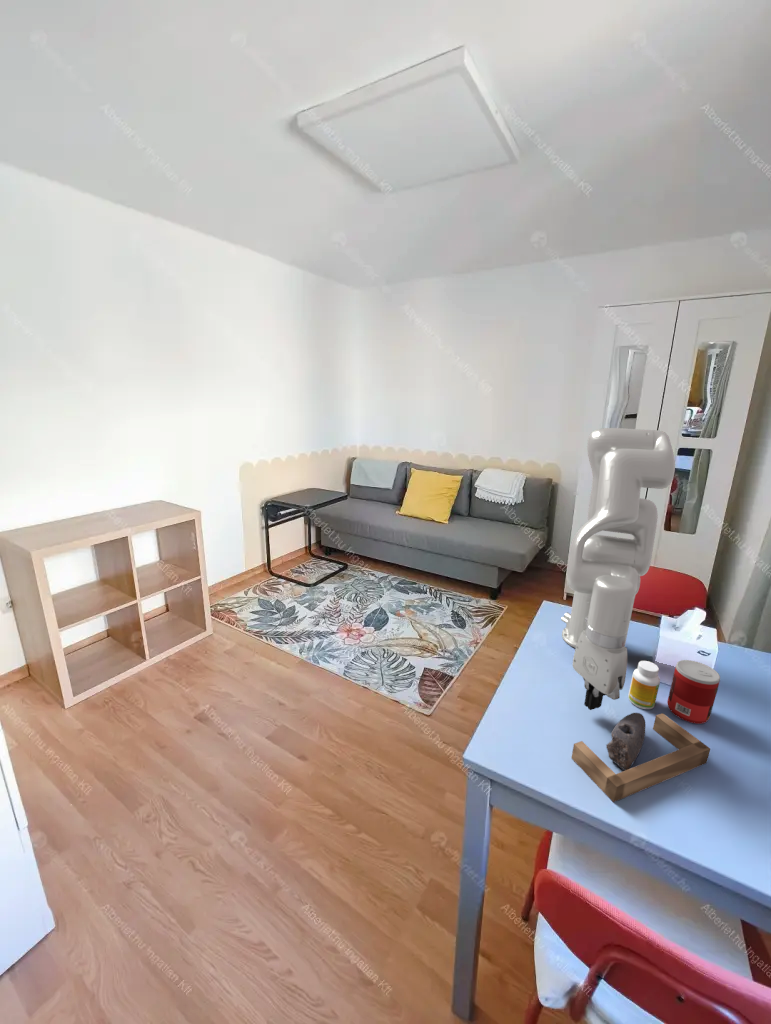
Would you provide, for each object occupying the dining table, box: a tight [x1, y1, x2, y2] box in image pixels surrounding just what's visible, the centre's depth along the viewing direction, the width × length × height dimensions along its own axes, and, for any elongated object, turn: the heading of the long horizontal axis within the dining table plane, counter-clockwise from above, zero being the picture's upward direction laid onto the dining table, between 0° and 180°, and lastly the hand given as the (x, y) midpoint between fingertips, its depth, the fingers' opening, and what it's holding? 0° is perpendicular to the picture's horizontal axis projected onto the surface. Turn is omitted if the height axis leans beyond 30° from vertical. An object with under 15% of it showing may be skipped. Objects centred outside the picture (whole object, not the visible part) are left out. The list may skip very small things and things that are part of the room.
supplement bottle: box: [627, 660, 661, 710], centre depth 100 cm, size 5×5×10 cm
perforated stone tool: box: [605, 712, 646, 771], centre depth 87 cm, size 15×5×7 cm, turn 135°
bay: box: [571, 712, 711, 803], centre depth 85 cm, size 10×24×4 cm, turn 111°
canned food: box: [667, 659, 721, 725], centre depth 96 cm, size 8×8×11 cm
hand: (592, 705), depth 96 cm, fingers closed
